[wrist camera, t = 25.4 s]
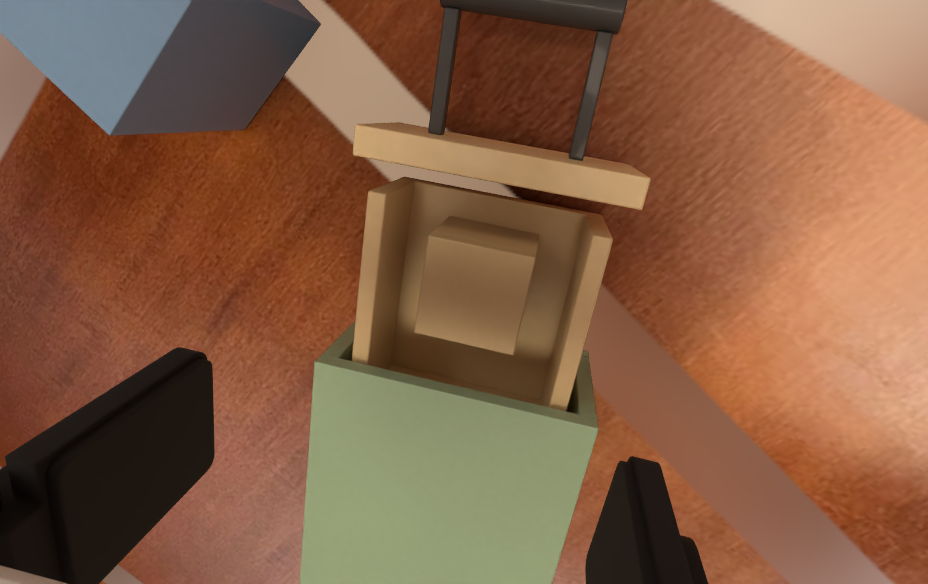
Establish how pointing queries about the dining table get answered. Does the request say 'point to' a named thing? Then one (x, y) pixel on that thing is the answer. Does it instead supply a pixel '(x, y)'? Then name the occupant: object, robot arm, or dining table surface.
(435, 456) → the cabinet
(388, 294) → the drawer
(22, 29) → the block
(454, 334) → the block
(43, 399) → the dining table surface
